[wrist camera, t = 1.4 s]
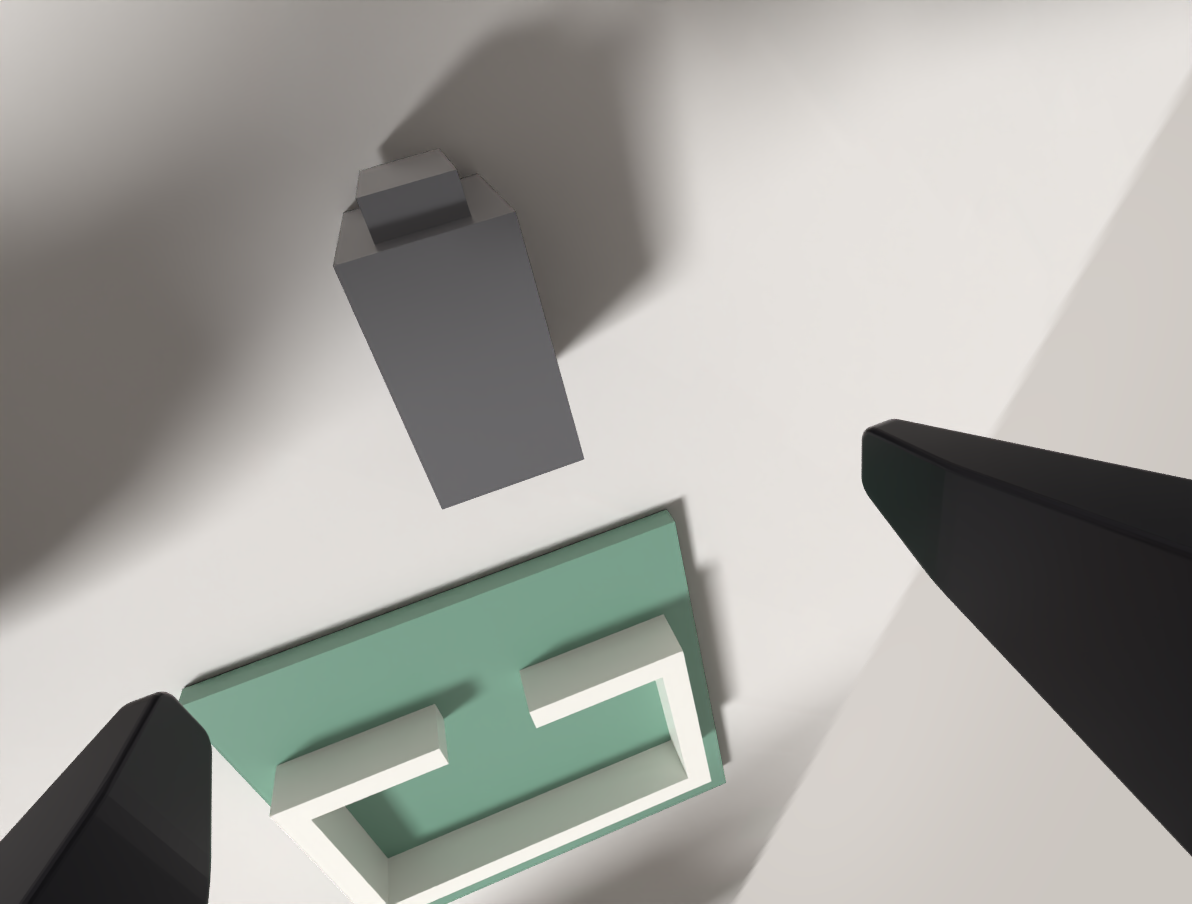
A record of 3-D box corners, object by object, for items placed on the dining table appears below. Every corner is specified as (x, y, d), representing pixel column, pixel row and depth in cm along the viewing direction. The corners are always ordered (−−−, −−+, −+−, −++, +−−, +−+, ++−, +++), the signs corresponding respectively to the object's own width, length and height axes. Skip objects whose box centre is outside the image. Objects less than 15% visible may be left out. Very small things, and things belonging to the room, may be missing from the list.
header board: (386, 911, 32) (387, 977, 30) (183, 688, 22) (160, 760, 20) (719, 769, 35) (744, 819, 32) (666, 509, 25) (697, 555, 22)
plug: (426, 409, 20) (441, 509, 16) (328, 175, 16) (311, 218, 12) (537, 372, 21) (584, 459, 16) (466, 136, 17) (502, 162, 12)
